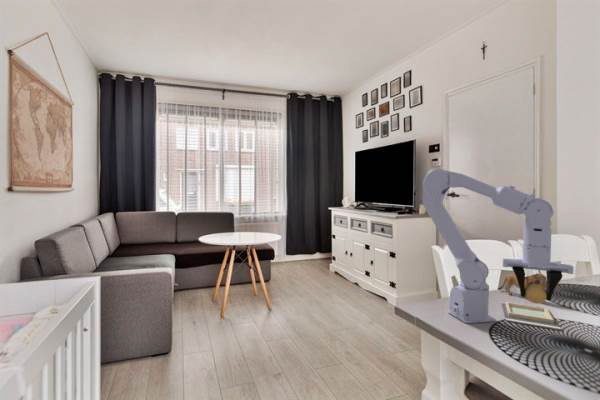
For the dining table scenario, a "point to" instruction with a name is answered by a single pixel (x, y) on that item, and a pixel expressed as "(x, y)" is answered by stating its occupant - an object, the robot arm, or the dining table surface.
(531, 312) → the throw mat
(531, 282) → the lion figurine
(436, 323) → the dining table surface
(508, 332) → the dining table surface
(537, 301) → the ball
